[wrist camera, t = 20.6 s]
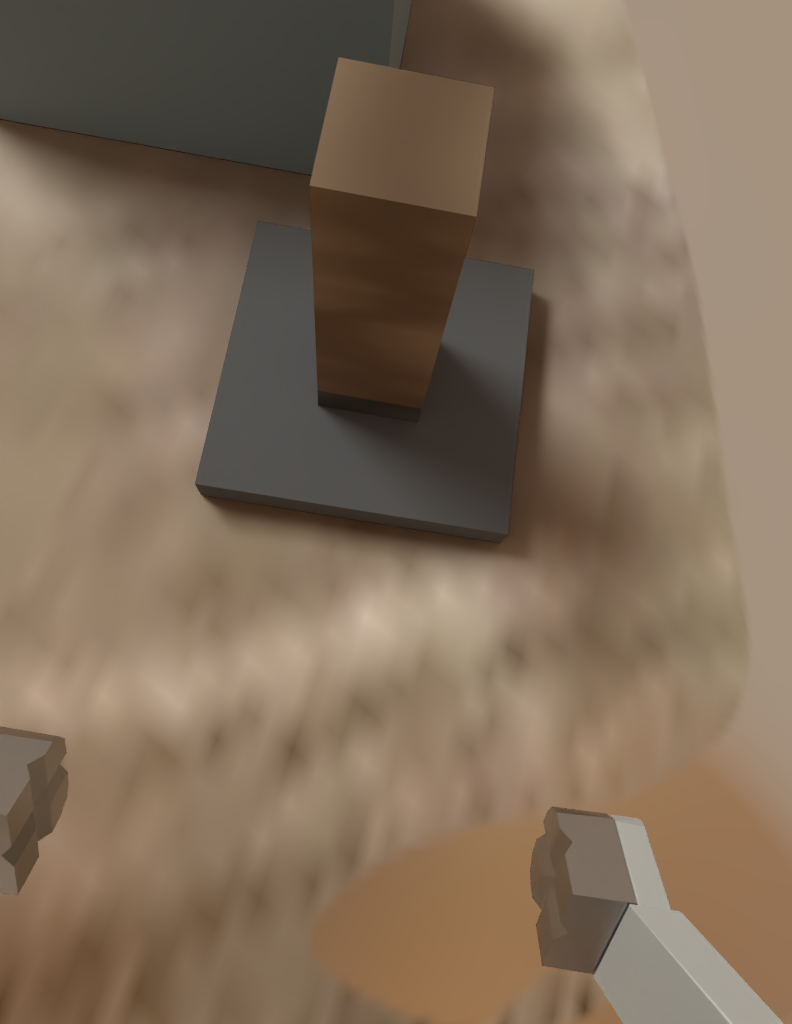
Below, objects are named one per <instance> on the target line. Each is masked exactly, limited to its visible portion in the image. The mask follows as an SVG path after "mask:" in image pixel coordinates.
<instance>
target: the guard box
mask: <svg viewBox="0 0 792 1024" xmlns="http://www.w3.org/2000/svg"><path fill="white" fill-rule="evenodd" d="M411 5H412V0H0V119H4V120H10V121H15V122H21V123H26V124H32V125H37V126H43V127H48V128H54V129H59V130H65V131H70V132H76V133H81V134H87V135H92V136H98V137H104V138H109V139H115V140H120V141H126V142H131V143H137V144H142V145H148V146H153V147H159V148H164V149H170V150H175V151H181V152H187V153H192V154H198V155H203V156H209V157H214V158H220V159H225V160H231V161H236V162H242V163H247V164H253V165H258V166H264V167H269V168H275V169H281V170H286V171H292V172H297V173H303V174H308V175H312V172H313V167H314V163H315V158H316V154H317V150H318V145H319V141H320V136H321V132H322V128H323V123H324V119H325V115H326V110H327V106H328V101H329V97H330V93H331V88H332V84H333V80H334V75H335V71H336V66H337V62H338V58H339V57H341V58H346V59H351V60H356V61H361V62H367V63H372V64H377V65H382V66H387V67H392V68H397V69H400V65H401V60H402V54H403V49H404V43H405V38H406V33H407V27H408V22H409V16H410V11H411Z"/></svg>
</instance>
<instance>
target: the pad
mask: <svg viewBox="0 0 792 1024" xmlns="http://www.w3.org/2000/svg"><path fill="white" fill-rule="evenodd" d="M533 275H534V270H531V269H526V268H520V267H515V266H509V265H503V264H498V263H492V262H486V261H481V260H475V259H469V258H465V259H464V263H463V266H462V270H461V273H460V277H459V280H458V284H457V287H456V291H455V294H454V298H453V301H452V305H451V308H450V312H449V315H448V319H447V322H446V326H445V329H444V333H443V336H442V340H441V343H440V347H439V350H438V354H437V357H436V361H435V364H434V368H433V371H432V375H431V378H430V382H429V385H428V389H427V392H426V396H425V399H424V403H423V406H422V410H421V413H420V417H419V420H418V423H415V422H409V421H403V420H397V419H392V418H386V417H380V416H375V415H369V414H363V413H357V412H352V411H346V410H340V409H334V408H329V407H323V406H318V393H317V367H316V342H315V317H314V291H313V266H312V240H311V230H306V229H301V228H295V227H289V226H284V225H278V224H272V223H267V222H261V221H258V224H257V228H256V232H255V236H254V240H253V245H252V249H251V253H250V257H249V261H248V265H247V269H246V274H245V278H244V282H243V286H242V290H241V294H240V299H239V303H238V307H237V311H236V315H235V319H234V324H233V328H232V332H231V336H230V340H229V344H228V349H227V353H226V357H225V361H224V365H223V369H222V374H221V378H220V382H219V386H218V390H217V394H216V399H215V403H214V407H213V411H212V415H211V419H210V423H209V428H208V432H207V436H206V440H205V444H204V448H203V453H202V457H201V461H200V465H199V469H198V473H197V478H196V482H195V485H196V487H197V488H198V490H199V492H200V494H201V495H205V496H211V497H217V498H224V499H230V500H236V501H242V502H249V503H255V504H261V505H267V506H273V507H280V508H286V509H292V510H298V511H304V512H311V513H317V514H323V515H329V516H336V517H342V518H348V519H354V520H360V521H367V522H373V523H379V524H385V525H391V526H398V527H404V528H410V529H416V530H423V531H429V532H435V533H441V534H447V535H454V536H460V537H466V538H472V539H478V540H485V541H491V542H497V543H501V542H502V540H503V539H504V538H505V537H506V536H507V535H508V530H509V520H510V509H511V499H512V489H513V479H514V469H515V458H516V448H517V438H518V428H519V418H520V407H521V397H522V387H523V377H524V366H525V356H526V346H527V336H528V326H529V315H530V305H531V295H532V285H533Z"/></svg>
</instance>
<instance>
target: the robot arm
mask: <svg viewBox="0 0 792 1024" xmlns="http://www.w3.org/2000/svg"><path fill="white" fill-rule="evenodd" d="M65 754H66V747H65V739H64V738H62V737H58V736H53V735H47V734H41V733H35V732H29V731H23V730H17V729H12V728H6V727H0V893H5V894H14V895H18V894H19V892H20V890H21V888H22V886H23V885H24V883H25V881H26V879H27V877H28V876H29V874H30V872H31V870H32V868H33V866H34V865H35V863H36V861H37V859H38V857H39V852H38V842H37V841H39V840H41V839H42V838H44V837H45V836H47V835H48V834H50V833H51V832H52V831H53V829H54V827H55V826H56V824H57V822H58V820H59V818H60V816H61V813H62V810H63V807H64V804H65V801H66V798H67V791H68V772H67V771H66V770H65V769H64V768H63V767H62V765H61V764H60V763H61V761H62V760H63V758H64V756H65ZM544 827H545V834H544V835H542V836H541V837H539V838H538V839H537V840H536V843H535V846H534V849H533V852H532V859H531V867H530V879H531V890H532V898H533V899H534V901H535V902H536V903H537V905H538V906H539V907H540V909H541V910H542V911H541V914H540V916H539V919H538V921H537V924H536V927H537V933H538V940H539V948H540V954H541V961H542V966H547V967H554V968H560V969H566V970H572V971H578V972H584V973H590V974H594V976H593V977H594V979H595V980H596V982H597V984H598V985H599V987H600V988H601V990H602V991H603V993H604V994H605V996H606V998H607V999H608V1001H609V1002H610V1004H611V1005H612V1007H613V1008H614V1010H615V1012H616V1013H617V1015H618V1016H619V1018H620V1019H621V1021H622V1022H623V1024H784V1023H783V1022H782V1021H781V1020H780V1019H779V1018H778V1017H777V1016H776V1015H775V1013H774V1012H773V1011H772V1010H771V1009H770V1008H769V1007H768V1006H767V1005H766V1004H765V1003H764V1002H763V1001H762V999H760V997H759V996H758V995H757V994H756V993H755V992H754V991H753V990H752V988H751V987H750V986H749V985H748V984H747V983H746V982H745V981H744V980H743V979H742V978H741V977H740V975H739V974H738V973H737V972H736V971H735V970H734V969H733V968H732V967H731V966H730V965H729V963H728V962H726V960H725V959H724V958H723V957H722V956H721V955H720V954H719V953H718V952H717V951H716V949H715V948H714V947H713V946H712V945H711V944H710V943H709V942H708V941H707V940H706V938H705V937H704V936H703V935H702V934H701V933H700V932H699V931H698V930H697V929H696V928H695V927H694V925H693V924H692V923H691V922H690V921H689V920H688V919H687V918H686V917H685V916H684V915H683V913H682V912H681V911H675V910H672V909H671V906H670V903H669V900H668V897H667V894H666V891H665V888H664V885H663V881H662V879H661V875H660V872H659V869H658V866H657V863H656V860H655V857H654V854H653V851H652V848H651V845H650V842H649V838H648V835H647V832H646V829H645V826H644V824H643V823H642V821H641V820H640V819H638V818H630V817H624V816H617V815H608V814H605V813H598V812H590V811H582V810H575V809H567V808H559V807H551V808H550V809H549V810H548V811H547V814H546V816H545V819H544Z"/></svg>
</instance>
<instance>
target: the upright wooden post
mask: <svg viewBox="0 0 792 1024" xmlns="http://www.w3.org/2000/svg"><path fill="white" fill-rule="evenodd" d="M494 88H495V87H490V86H485V85H480V84H475V83H470V82H464V81H459V80H454V79H449V78H444V77H439V76H433V75H428V74H423V73H418V72H413V71H408V70H403V69H397V68H392V67H387V66H382V65H377V64H372V63H367V62H361V61H356V60H351V59H346V58H341V57H339V58H338V62H337V66H336V71H335V75H334V80H333V84H332V88H331V93H330V97H329V101H328V106H327V110H326V115H325V119H324V123H323V128H322V132H321V136H320V141H319V145H318V150H317V154H316V158H315V163H314V167H313V172H312V176H311V180H310V185H309V190H310V215H311V240H312V266H313V291H314V317H315V342H316V367H317V393H318V406H323V407H329V408H334V409H340V410H346V411H352V412H357V413H363V414H369V415H375V416H380V417H386V418H392V419H397V420H403V421H409V422H415V423H418V420H419V417H420V413H421V410H422V406H423V403H424V399H425V396H426V392H427V389H428V385H429V382H430V378H431V375H432V371H433V368H434V364H435V361H436V357H437V354H438V350H439V347H440V343H441V340H442V336H443V333H444V329H445V326H446V322H447V319H448V315H449V312H450V308H451V305H452V301H453V298H454V294H455V291H456V287H457V284H458V280H459V277H460V273H461V270H462V266H463V263H464V259H465V256H466V252H467V249H468V245H469V242H470V238H471V235H472V231H473V227H474V224H475V220H476V217H477V210H478V203H479V196H480V189H481V181H482V174H483V167H484V160H485V153H486V145H487V138H488V131H489V124H490V117H491V110H492V102H493V95H494Z"/></svg>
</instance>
